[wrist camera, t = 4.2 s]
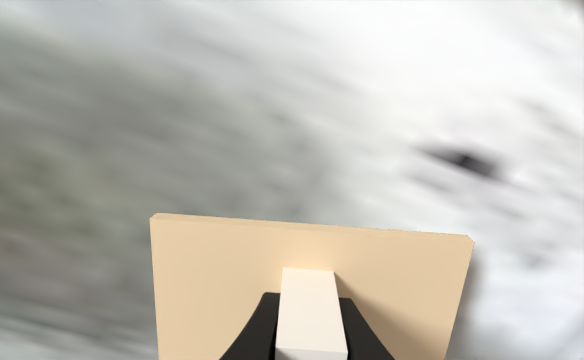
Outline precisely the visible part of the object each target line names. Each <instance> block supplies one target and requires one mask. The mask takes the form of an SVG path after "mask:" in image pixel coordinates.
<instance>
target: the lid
mask: <svg viewBox="0 0 584 360" xmlns="http://www.w3.org/2000/svg"><path fill="white" fill-rule="evenodd" d="M150 231H151V246H152V261H153V276H154V291H155V306H156V321H157V336H158V351H159V360H219V359H220V358H221V357H222V355H223V354H224V353H225V352H226V351H227V349H228V348H229V347H230V346H231V344H232V343H233V342H234V340H235V339H236V338H237V336H238V335H239V334H240V332H241V331H242V330H243V328H244V327H245V325H246V324H247V322H248V321H249V319H250V317H251V316H252V314H253V313H254V311H255V309H256V307H257V306H258V304H259V302H260V299H261V297H262V294H264V293H265V292H274V293H281V294H280V305H279V316H278V326H277V337H276V347H275V360H347V355H348V351H347V345H346V339H345V334H344V328H343V322H342V317H341V311H340V306H339V300H338V297H341V298H351V299H352V300H353V302H354V303H355V305H356V307H357V308H358V310H359V311H360V313H361V314H362V316H363V317H364V319H365V320H366V322H367V323H368V325H369V326H370V328H371V329H372V330H373V332H374V333H375V334H376V336H377V337H378V339H379V340H380V341H381V343H382V344H383V345H384V346H385V348H386V349H387V350H388V351H389V353H390V354H391V355H392V356H393V357H394V359H395V360H445V356H446V352H447V348H448V345H449V341H450V337H451V333H452V329H453V325H454V321H455V317H456V313H457V309H458V306H459V302H460V298H461V294H462V290H463V286H464V282H465V278H466V274H467V271H468V267H469V263H470V259H471V255H472V251H473V247H474V243H475V242H474V241H473V240H472V239H471V238H470V237H468V236H467V235H459V234H445V233H431V232H417V231H403V230H389V229H375V228H361V227H347V226H333V225H319V224H305V223H291V222H277V221H263V220H249V219H236V218H222V217H208V216H194V215H180V214H166V213H156V214H155V215H154V216H152V217H151V218H150Z"/></svg>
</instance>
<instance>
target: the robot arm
mask: <svg viewBox="0 0 584 360" xmlns="http://www.w3.org/2000/svg"><path fill="white" fill-rule="evenodd" d="M280 294H281V293H274V292H265V293H264V294H262V297H261V299H260V302H259V304H258V306H257V307H256V309H255V311H254V313H253V314H252V316H251V317H250V319H249V321H248V322H247V324H246V325H245V327H244V328H243V330H242V331H241V332H240V334H239V335H238V336H237V338H236V339H235V340H234V342H233V343H232V344H231V346H230V347H229V348H228V349H227V351H226V352H225V353H224V354H223V355H222V357H221V358H220V359H219V360H275V347H276V337H277V326H278V316H279V305H280ZM338 300H339V306H340V311H341V317H342V322H343V328H344V334H345V339H346V345H347V351H348V355H347V360H395V359H394V357H393V356H392V355H391V354H390V353H389V351H388V350H387V349H386V348H385V346H384V345H383V344H382V343H381V341H380V340H379V339H378V337H377V336H376V334H375V333H374V332H373V330H372V329H371V328H370V326H369V325H368V323H367V322H366V320H365V319H364V317H363V316H362V314H361V313H360V311H359V310H358V308H357V307H356V305H355V303H354V302H353V300H352V299H351V298H341V297H338Z"/></svg>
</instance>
